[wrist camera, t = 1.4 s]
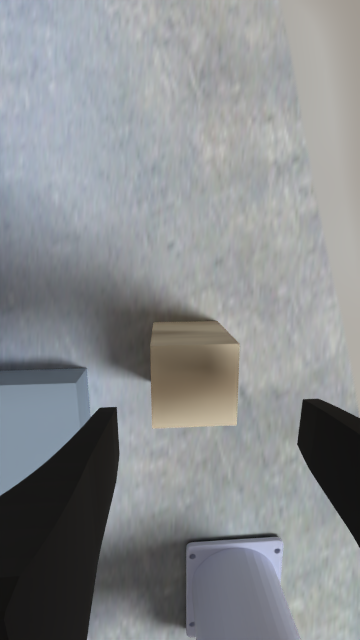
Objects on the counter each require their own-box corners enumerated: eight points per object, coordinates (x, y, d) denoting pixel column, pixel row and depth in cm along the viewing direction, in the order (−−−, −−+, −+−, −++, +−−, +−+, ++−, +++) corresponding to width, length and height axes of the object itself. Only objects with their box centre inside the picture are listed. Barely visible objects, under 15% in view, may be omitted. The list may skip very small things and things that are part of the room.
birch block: (215, 380, 21) (236, 425, 16) (154, 382, 21) (152, 428, 15) (217, 320, 21) (239, 343, 15) (153, 322, 20) (150, 346, 14)
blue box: (97, 486, 23) (87, 519, 20) (-35, 493, 22) (-65, 528, 19) (88, 366, 21) (76, 383, 18) (-57, 370, 20) (-94, 388, 17)
